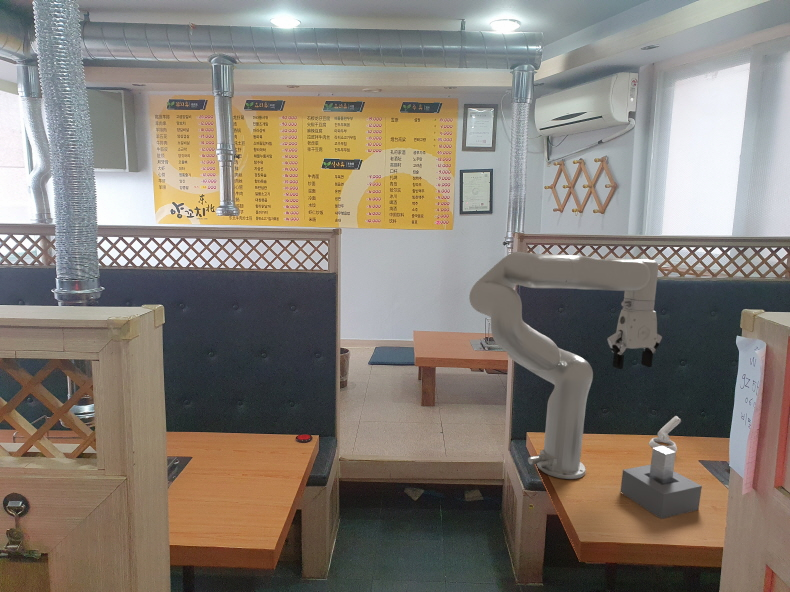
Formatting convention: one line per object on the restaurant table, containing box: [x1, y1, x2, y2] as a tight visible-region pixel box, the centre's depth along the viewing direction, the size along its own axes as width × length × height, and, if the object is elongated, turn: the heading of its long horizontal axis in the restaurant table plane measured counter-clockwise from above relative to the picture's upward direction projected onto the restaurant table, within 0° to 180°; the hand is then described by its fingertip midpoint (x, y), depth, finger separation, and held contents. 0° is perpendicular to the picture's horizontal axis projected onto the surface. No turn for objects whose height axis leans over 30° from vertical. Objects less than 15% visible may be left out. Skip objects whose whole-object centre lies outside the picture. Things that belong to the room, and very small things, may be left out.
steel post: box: [649, 446, 677, 485], centre depth 125 cm, size 4×4×13 cm
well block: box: [619, 464, 703, 520], centre depth 125 cm, size 12×12×6 cm
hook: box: [648, 415, 682, 453], centre depth 156 cm, size 8×12×7 cm
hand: (632, 366), depth 143 cm, fingers open, 9 cm apart
